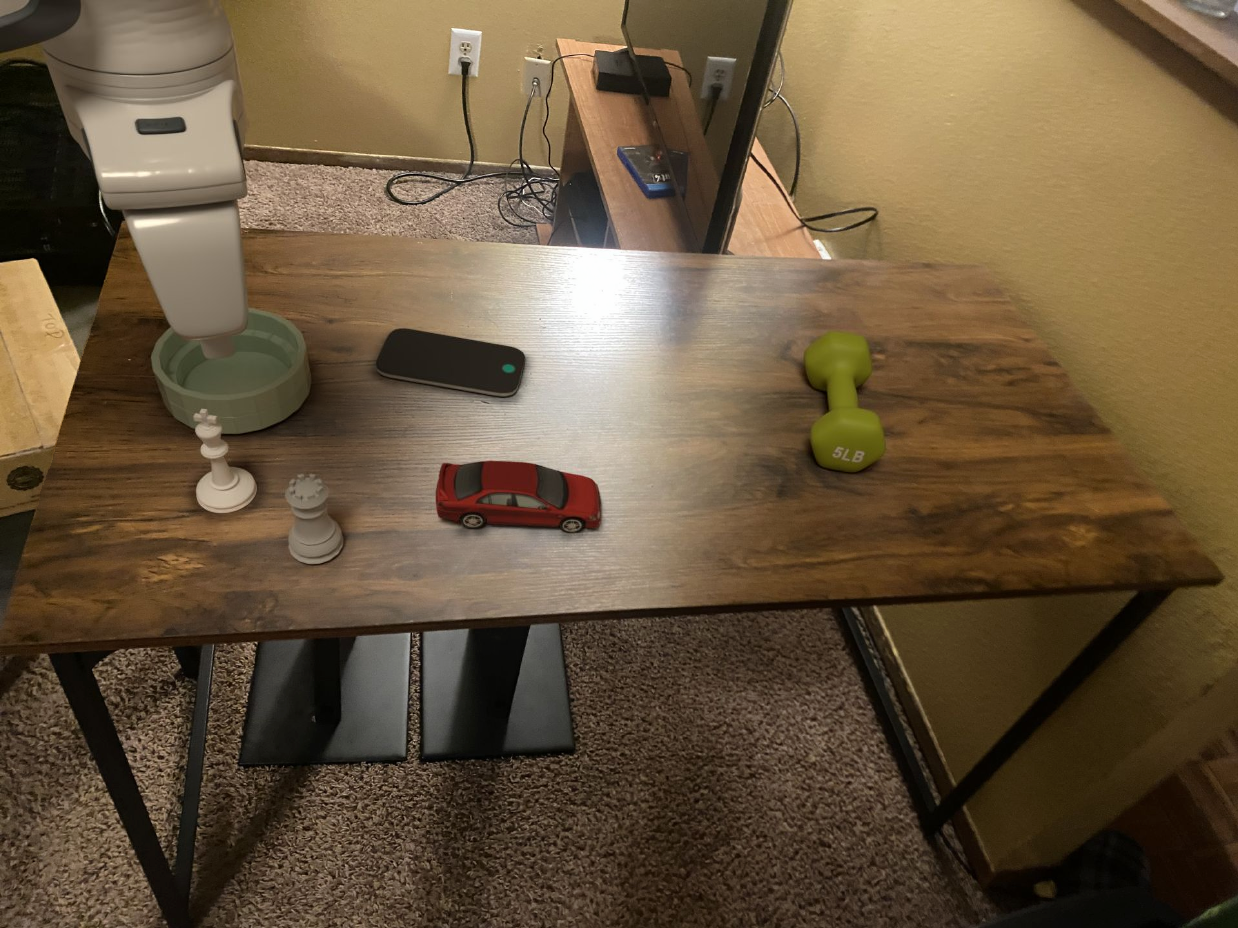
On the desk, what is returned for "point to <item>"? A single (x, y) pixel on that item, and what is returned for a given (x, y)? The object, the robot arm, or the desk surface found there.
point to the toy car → (516, 496)
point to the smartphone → (451, 362)
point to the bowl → (236, 375)
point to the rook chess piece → (312, 522)
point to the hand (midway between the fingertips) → (208, 305)
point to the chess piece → (220, 471)
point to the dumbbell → (843, 403)
